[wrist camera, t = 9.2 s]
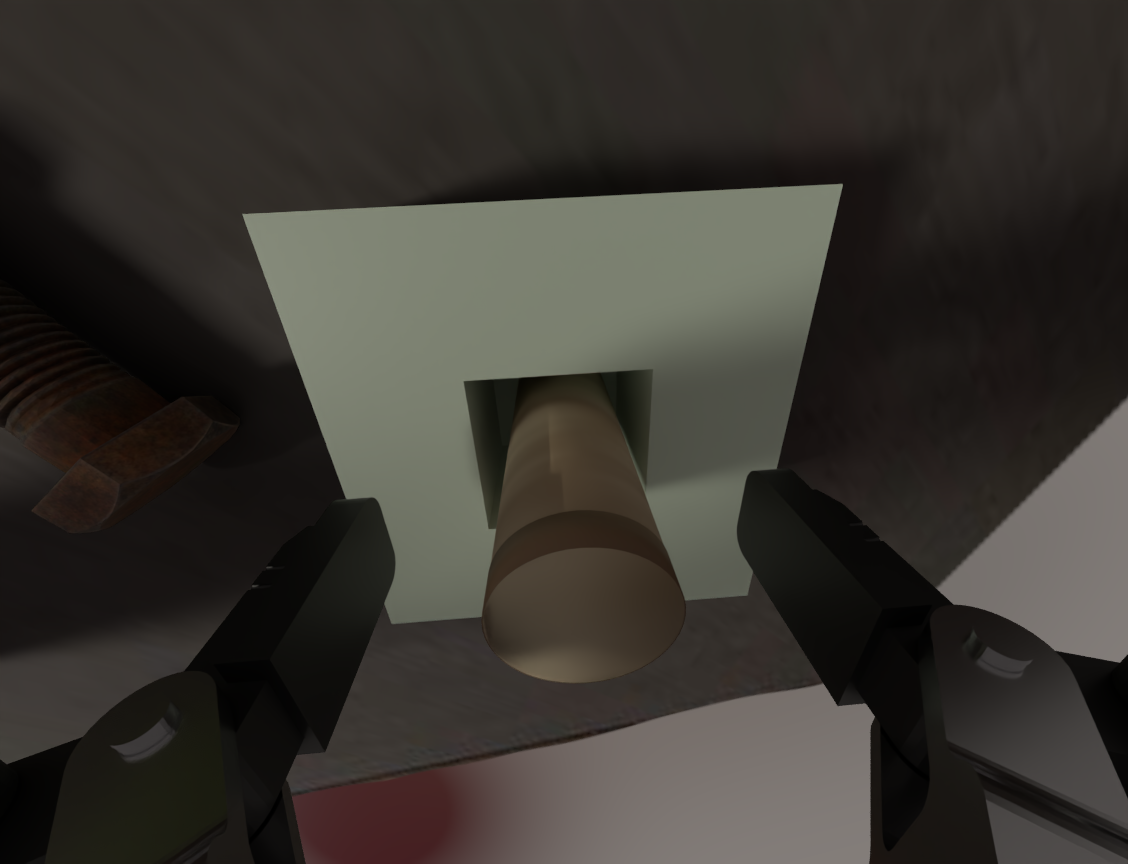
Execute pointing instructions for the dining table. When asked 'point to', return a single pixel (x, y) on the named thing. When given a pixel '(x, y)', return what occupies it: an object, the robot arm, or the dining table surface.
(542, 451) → the peg
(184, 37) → the dining table surface
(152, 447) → the bolt
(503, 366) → the socket block
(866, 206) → the dining table surface
